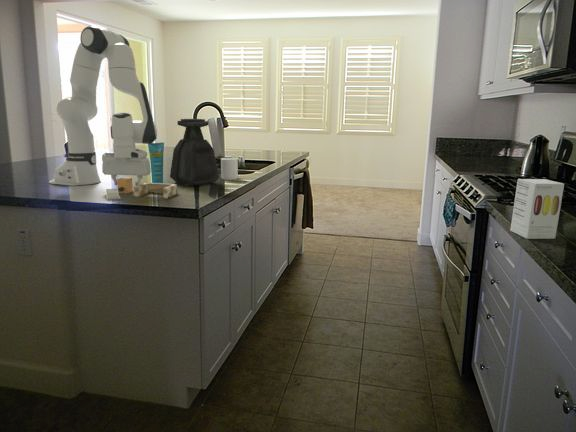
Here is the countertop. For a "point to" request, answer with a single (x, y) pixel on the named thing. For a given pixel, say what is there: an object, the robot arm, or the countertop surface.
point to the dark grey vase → (194, 156)
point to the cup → (229, 168)
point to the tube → (156, 161)
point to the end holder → (156, 189)
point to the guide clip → (112, 194)
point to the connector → (125, 185)
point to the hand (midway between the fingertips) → (127, 185)
